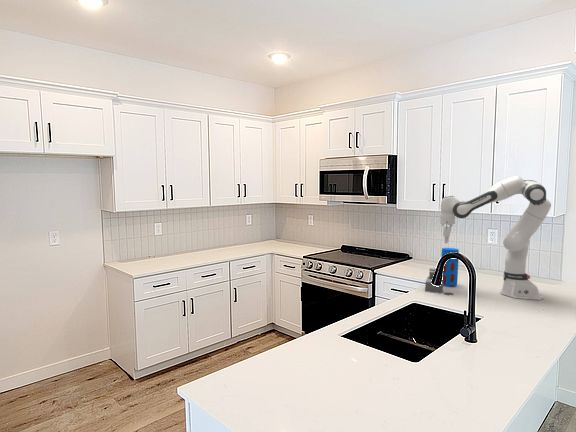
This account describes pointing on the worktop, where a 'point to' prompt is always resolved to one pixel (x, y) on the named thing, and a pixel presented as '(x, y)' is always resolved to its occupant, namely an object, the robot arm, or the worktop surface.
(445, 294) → the lens cap
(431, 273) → the lens
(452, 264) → the blue red-spotted block
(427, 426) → the worktop surface
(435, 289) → the camera body
